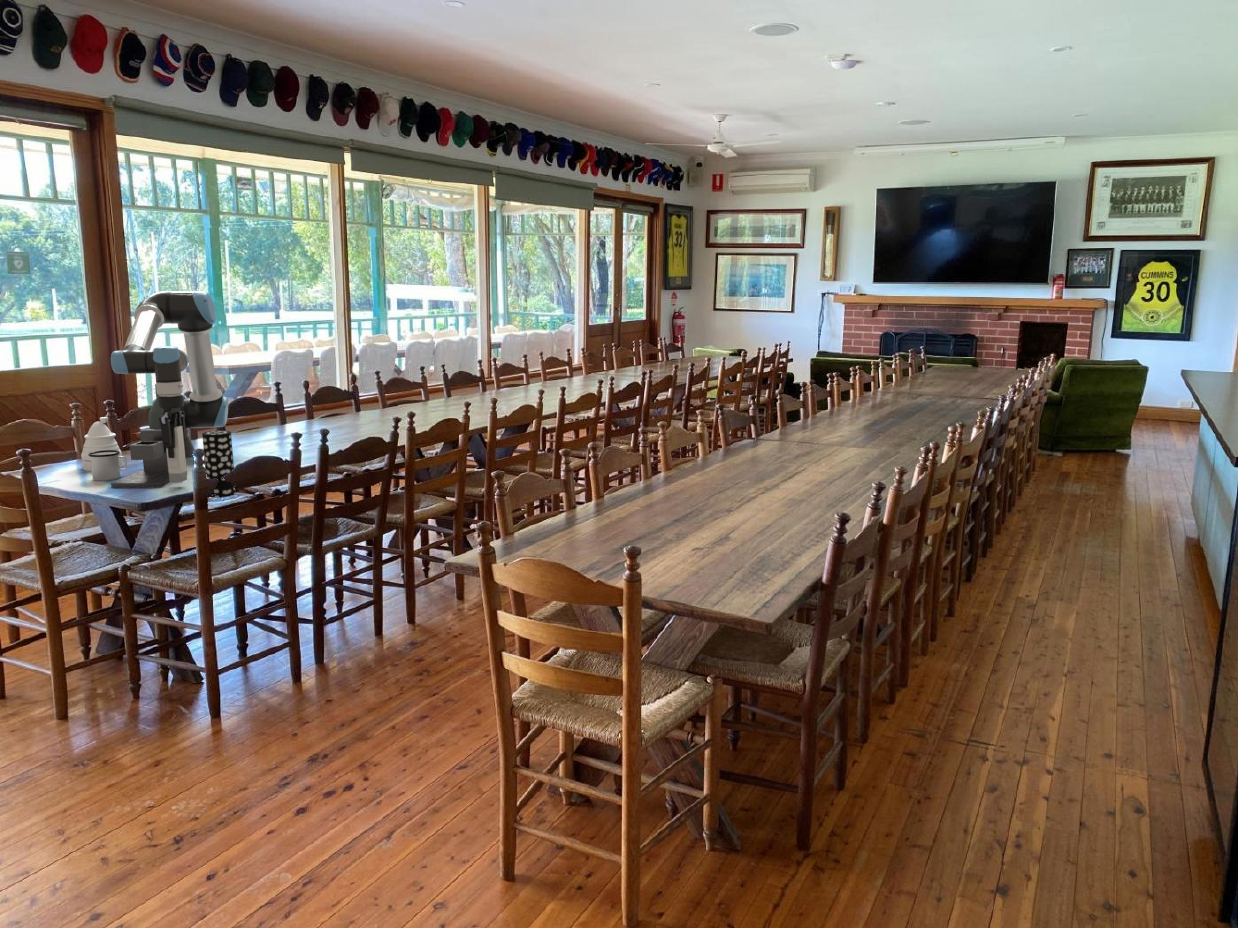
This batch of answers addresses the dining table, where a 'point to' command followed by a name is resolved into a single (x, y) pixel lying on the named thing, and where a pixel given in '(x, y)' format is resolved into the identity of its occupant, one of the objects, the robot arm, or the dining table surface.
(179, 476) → the tall white block
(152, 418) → the bottle
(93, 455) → the mug
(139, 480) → the coffee machine
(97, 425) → the honey pot
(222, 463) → the black dotted tall container
